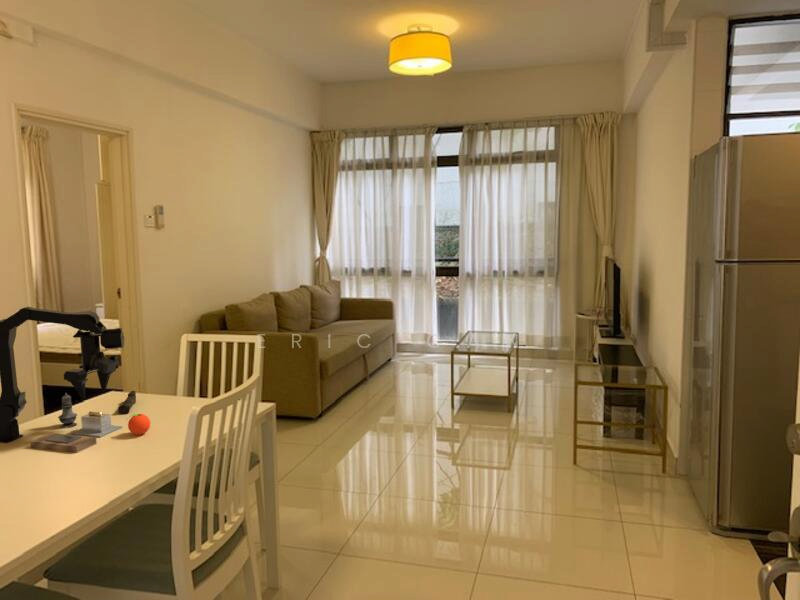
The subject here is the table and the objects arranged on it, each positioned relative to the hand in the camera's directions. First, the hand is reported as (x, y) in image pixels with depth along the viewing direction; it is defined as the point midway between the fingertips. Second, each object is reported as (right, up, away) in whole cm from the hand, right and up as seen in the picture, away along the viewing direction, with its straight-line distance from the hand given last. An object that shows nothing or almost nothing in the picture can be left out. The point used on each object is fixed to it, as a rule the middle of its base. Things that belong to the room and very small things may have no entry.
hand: (93, 394), depth 201 cm
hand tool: (-2, -10, +29) cm, 30 cm away
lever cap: (0, -12, +2) cm, 12 cm away
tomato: (+16, -13, -1) cm, 21 cm away
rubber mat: (0, -13, +2) cm, 13 cm away
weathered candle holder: (-13, -12, +7) cm, 19 cm away
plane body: (-4, -15, -12) cm, 19 cm away
